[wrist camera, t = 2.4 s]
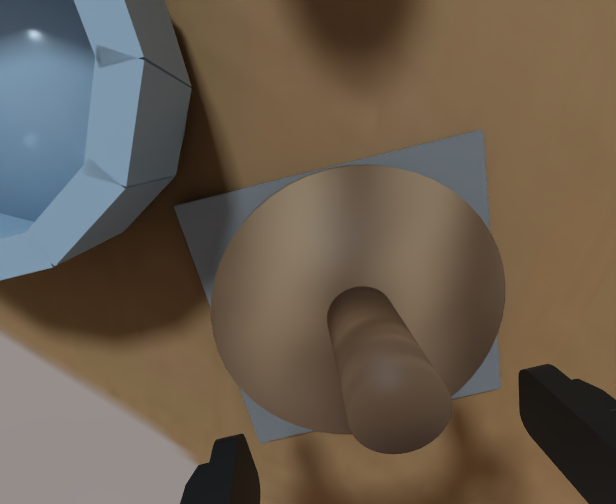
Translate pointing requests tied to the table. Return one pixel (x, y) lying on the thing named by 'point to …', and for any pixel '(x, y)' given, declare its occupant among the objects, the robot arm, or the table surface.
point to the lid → (359, 304)
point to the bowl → (84, 123)
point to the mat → (241, 203)
